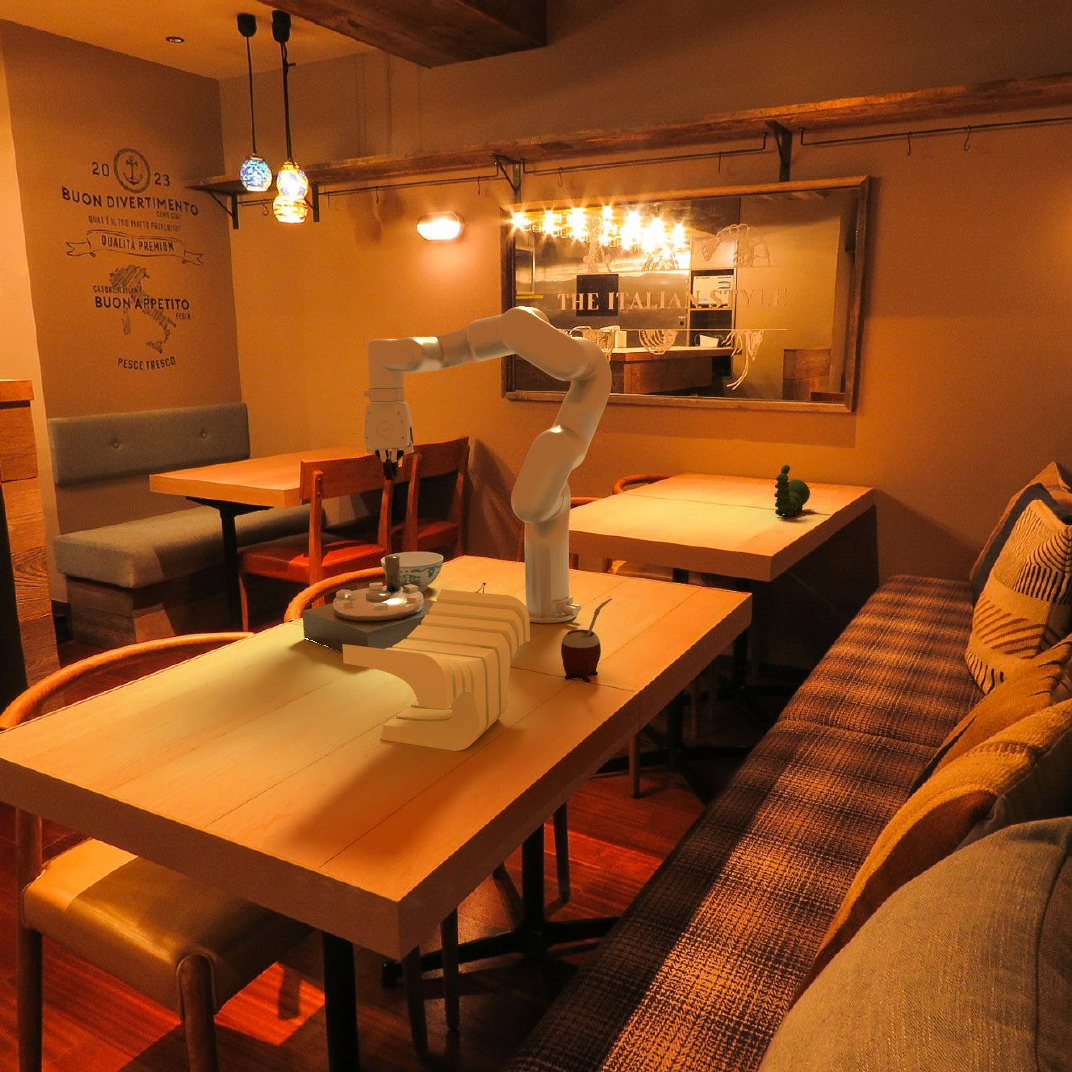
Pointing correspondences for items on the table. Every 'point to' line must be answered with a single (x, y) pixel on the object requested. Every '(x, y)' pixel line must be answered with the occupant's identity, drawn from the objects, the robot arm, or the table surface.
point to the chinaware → (418, 568)
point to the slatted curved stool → (452, 668)
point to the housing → (358, 628)
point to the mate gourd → (581, 651)
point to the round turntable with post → (380, 598)
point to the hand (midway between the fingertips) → (391, 479)
